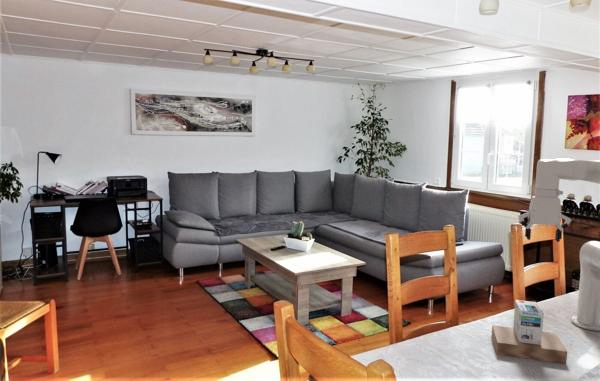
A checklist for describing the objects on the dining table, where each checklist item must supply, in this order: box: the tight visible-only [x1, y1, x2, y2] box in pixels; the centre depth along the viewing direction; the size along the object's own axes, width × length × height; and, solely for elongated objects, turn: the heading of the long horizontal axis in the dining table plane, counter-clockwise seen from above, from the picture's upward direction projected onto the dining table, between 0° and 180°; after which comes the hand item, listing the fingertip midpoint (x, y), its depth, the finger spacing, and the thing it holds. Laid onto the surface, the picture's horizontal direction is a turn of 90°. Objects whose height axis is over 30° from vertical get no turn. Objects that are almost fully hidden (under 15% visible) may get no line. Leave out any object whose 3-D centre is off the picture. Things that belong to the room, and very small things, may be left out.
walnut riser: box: [491, 325, 568, 365], centre depth 153 cm, size 20×14×4 cm
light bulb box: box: [512, 299, 544, 345], centre depth 152 cm, size 11×7×11 cm, turn 166°
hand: (542, 240), depth 170 cm, fingers open, 9 cm apart
